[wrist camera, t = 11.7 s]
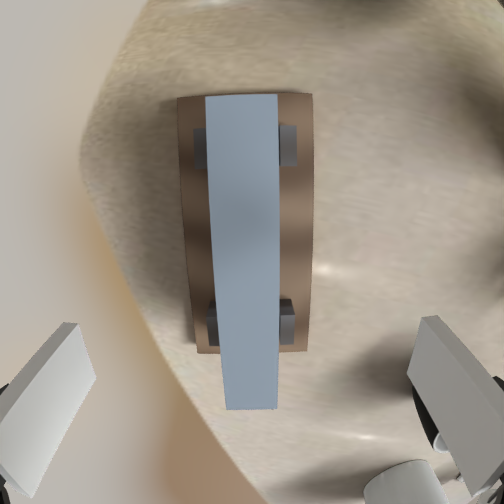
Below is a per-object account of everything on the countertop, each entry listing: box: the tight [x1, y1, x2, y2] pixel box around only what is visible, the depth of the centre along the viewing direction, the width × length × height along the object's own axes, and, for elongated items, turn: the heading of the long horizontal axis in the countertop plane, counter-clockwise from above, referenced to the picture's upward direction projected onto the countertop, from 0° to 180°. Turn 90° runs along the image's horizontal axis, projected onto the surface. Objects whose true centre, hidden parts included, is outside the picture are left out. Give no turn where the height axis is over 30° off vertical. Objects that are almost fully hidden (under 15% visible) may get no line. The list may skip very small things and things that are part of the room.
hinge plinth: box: [177, 93, 314, 354], centre depth 27 cm, size 24×11×4 cm, turn 1°
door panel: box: [205, 94, 280, 410], centre depth 23 cm, size 20×4×10 cm, turn 1°
